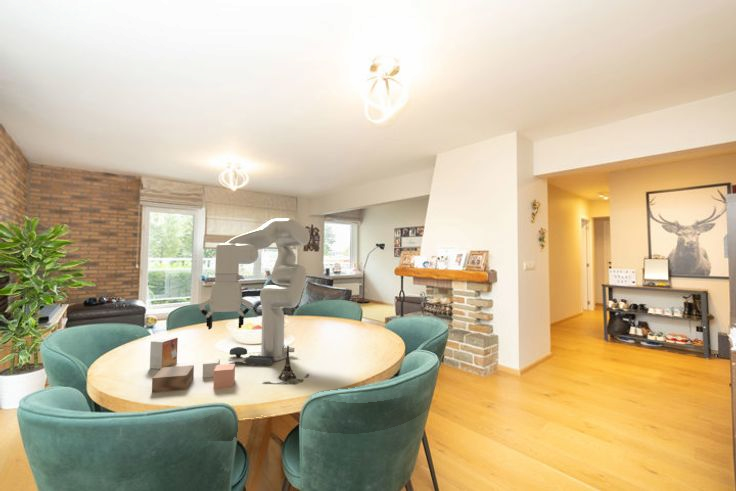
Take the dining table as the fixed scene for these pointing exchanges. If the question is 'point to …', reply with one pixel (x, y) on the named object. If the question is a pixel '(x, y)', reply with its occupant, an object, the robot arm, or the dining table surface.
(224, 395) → the dining table surface
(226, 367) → the terracotta cube
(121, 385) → the dining table surface
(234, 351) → the can opener
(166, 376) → the walnut base block
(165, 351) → the small box
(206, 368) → the pale grey cube
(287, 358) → the eiffel tower figurine
